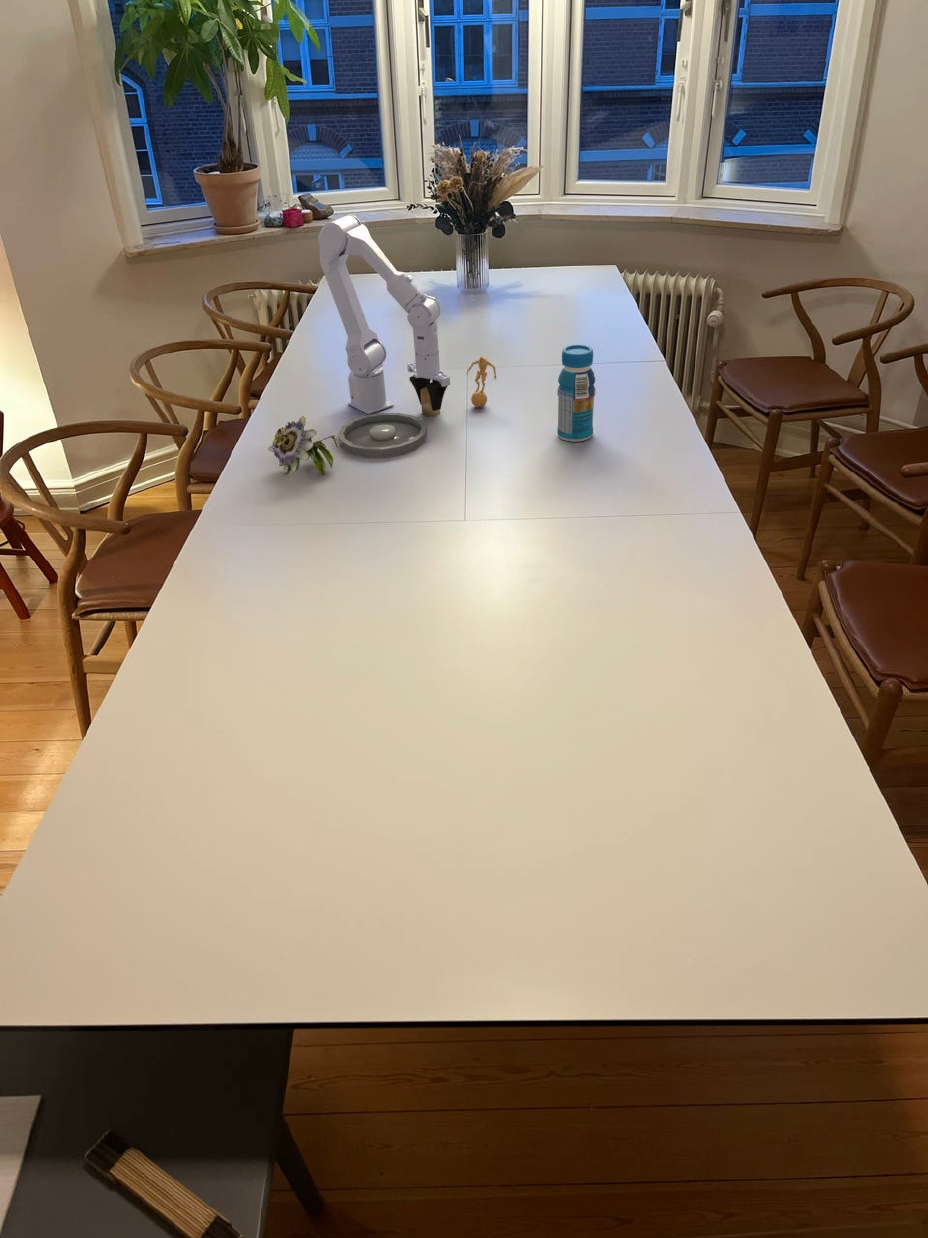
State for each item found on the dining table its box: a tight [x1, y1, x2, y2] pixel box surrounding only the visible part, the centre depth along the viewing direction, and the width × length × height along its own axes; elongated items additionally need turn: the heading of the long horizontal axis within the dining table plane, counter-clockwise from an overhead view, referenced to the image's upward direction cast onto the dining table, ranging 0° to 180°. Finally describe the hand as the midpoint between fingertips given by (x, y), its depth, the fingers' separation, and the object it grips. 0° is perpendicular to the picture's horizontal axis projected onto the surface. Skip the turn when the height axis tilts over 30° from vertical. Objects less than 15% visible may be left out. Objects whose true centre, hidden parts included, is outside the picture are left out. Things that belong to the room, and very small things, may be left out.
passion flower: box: [268, 415, 340, 475], centre depth 192 cm, size 13×12×14 cm
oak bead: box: [420, 387, 441, 418], centre depth 214 cm, size 4×4×6 cm
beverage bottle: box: [556, 344, 596, 443], centre depth 195 cm, size 8×8×20 cm
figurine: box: [466, 356, 497, 408], centre depth 215 cm, size 8×6×12 cm
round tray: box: [337, 412, 429, 459], centre depth 204 cm, size 20×20×2 cm
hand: (430, 406), depth 215 cm, fingers closed on oak bead, 4 cm apart
